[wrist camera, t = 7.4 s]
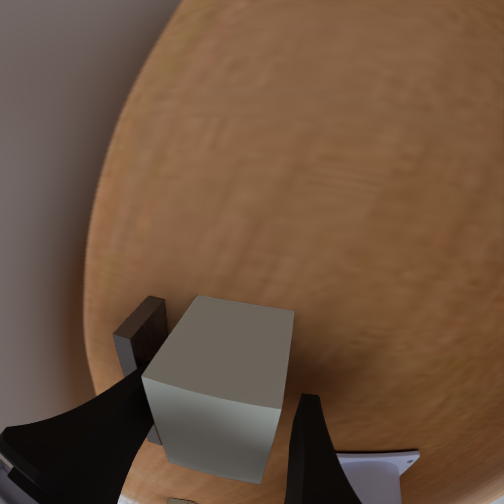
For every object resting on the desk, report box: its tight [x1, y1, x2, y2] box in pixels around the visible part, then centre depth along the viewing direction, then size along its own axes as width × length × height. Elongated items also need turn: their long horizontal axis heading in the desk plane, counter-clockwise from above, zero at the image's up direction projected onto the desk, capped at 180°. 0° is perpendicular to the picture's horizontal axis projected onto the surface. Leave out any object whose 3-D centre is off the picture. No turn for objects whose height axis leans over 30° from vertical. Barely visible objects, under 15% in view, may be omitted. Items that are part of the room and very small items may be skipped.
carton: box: [141, 295, 295, 484], centre depth 10 cm, size 4×6×5 cm
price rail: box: [113, 296, 168, 445], centre depth 12 cm, size 8×1×3 cm, turn 176°
